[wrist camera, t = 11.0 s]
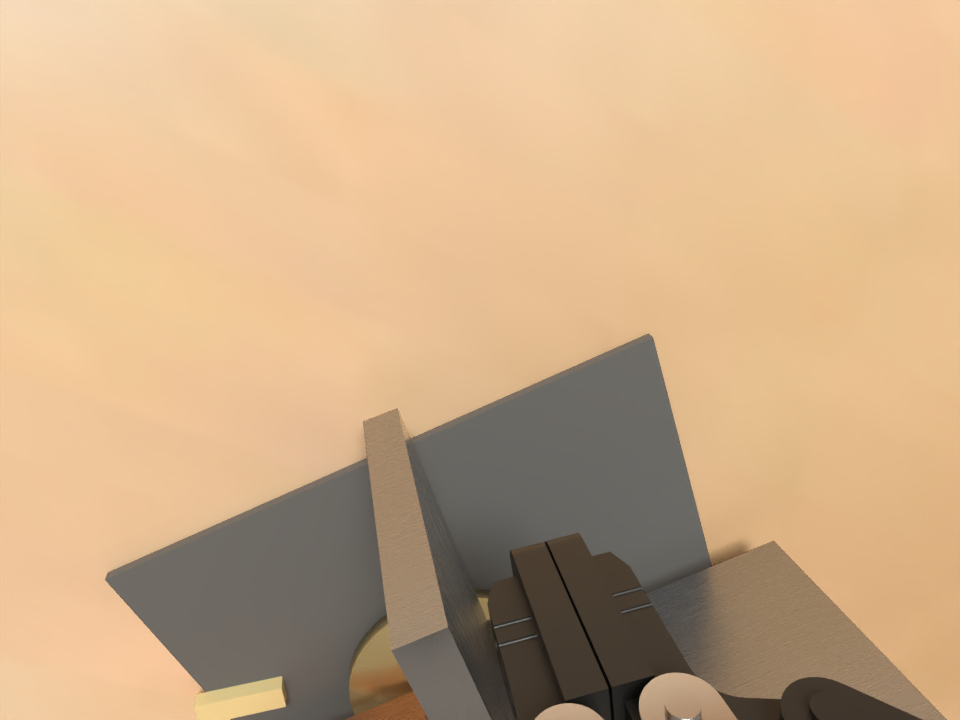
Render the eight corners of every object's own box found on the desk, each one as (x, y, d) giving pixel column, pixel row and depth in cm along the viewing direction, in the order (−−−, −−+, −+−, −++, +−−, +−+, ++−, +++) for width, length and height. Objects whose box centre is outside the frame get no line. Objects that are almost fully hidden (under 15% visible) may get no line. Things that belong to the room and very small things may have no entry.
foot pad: (738, 678, 28) (748, 693, 28) (348, 863, 28) (348, 884, 27) (648, 333, 20) (660, 343, 20) (90, 580, 19) (81, 600, 19)
